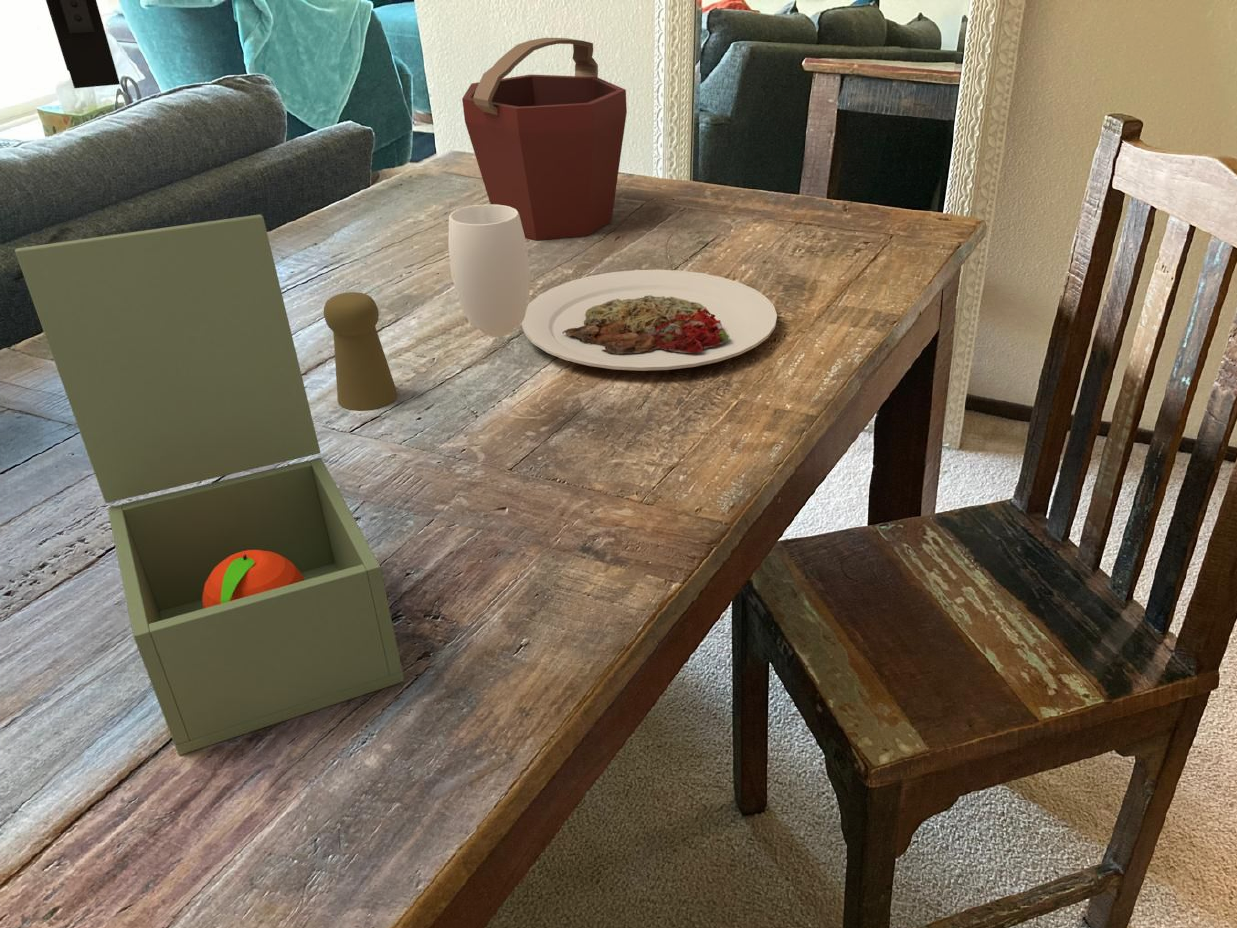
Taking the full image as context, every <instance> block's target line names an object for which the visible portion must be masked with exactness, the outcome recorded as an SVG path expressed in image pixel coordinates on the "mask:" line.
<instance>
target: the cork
mask: <svg viewBox="0 0 1237 928" xmlns="http://www.w3.org/2000/svg"><path fill="white" fill-rule="evenodd" d="M379 315H380V312H379V308H378V305H377V303H376V301H375V300H374V299H373V297H371V296H370V295H369V294H366V293H364V292H358V291H351V292H343V293H339V294H335V295H333V296H331V297H330V298H329V299H327V300H326V302H325V304H324V307H323V318H324V320H325V323H326V325H327V327H328V329H330V330H331V331H332V334H333V349H334V364H335V365H334V366H335V378H336V379H335V380H336V395H337V402H338V405H339V406H341V407H342V408H344V409H347V410H350V411H351V410H352V411H370V410H374V409H375V410H377V409H380V408H382V407H383V408H384V407H386V406H387V405H390V404H392V403H393V402H394V401H395V400H396V399H397V398H398V394H399V393H398V390H397V388H396V385H395V381H394V378H393V375H392V373H391V370H390V366H389V363H388V361H387V357H386V355H385V351H384V348H383V345H382V342H381V339H380V336H379V333H378V330H377V328H376V326H377V324H378V322H379Z"/></svg>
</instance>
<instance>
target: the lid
mask: <svg viewBox="0 0 1237 928" xmlns="http://www.w3.org/2000/svg"><path fill="white" fill-rule="evenodd" d="M268 235H269V234H268V231H267V226H266V222H265V219H264V216H263V215H262V214H253V215H246V216H238V217H232V218H225V219H217V220H209V221H204V222H195V223H190V224H189V223H188V224H183V225H174V226H168V227H161V228H159V227H158V228H152V229H146V230H138V231H131V232H125V233H117V234H110V235H109V234H108V235H103V236H94V237H89V238H81V239H74V240H68V241H67V240H66V241H61V242H52V243H47V244H39V245H32V246H31V245H30V246H25V247H19V248H18V247H17V248H15V249H14V252H15V255H16V259H17V261H18V264H19V267H20V270H21V273H22V275H23V278H24V280H25V283H26V286H27V290H28V291H29V294H30V297H31V300H32V302H33V306H34V309H35V311H36V314H37V317H38V320H39V322H40V325H41V328H42V330H43V333H44V336H45V339H46V342H47V345H48V347H49V350H50V353H51V356H52V359H53V362H54V364H55V367H56V370H57V373H58V375H59V378H60V381H61V384H62V387H63V389H64V392H65V394H66V397H67V400H68V403H69V406H70V409H71V412H72V415H73V417H74V420H75V423H76V425H77V429H78V431H79V434H80V436H81V439H82V443H83V445H84V448H85V451H86V454H87V457H88V459H89V462H90V464H91V467H92V469H93V473H94V477H95V478H96V482H97V484H98V486H99V489H100V492H101V496H102V498H103V501H104V502H105V504H109V503H114V502H117V501H121V500H126V499H130V498H135V497H139V496H144V495H147V494H152V493H157V492H161V491H165V490H169V489H173V488H178V487H182V486H186V485H190V484H195V483H199V482H203V481H208V480H211V479H216V478H221V477H225V476H229V475H234V474H238V473H243V472H247V471H251V470H255V469H259V468H263V467H269V466H272V465H275V464H276V465H277V464H280V463H281V464H282V463H285V462H289V461H293V460H298V459H302V458H307V457H311V456H315V455H319V454H321V449H320V445H319V441H318V437H317V432H316V428H315V424H314V421H313V417H312V411H311V407H310V404H309V400H308V396H307V391H306V387H305V383H304V379H303V375H302V371H301V367H300V362H299V359H298V355H297V351H296V347H295V342H294V338H293V334H292V330H291V325H290V322H289V317H288V314H287V309H286V305H285V301H284V297H283V293H282V289H281V284H280V281H279V277H278V271H277V267H276V264H275V260H274V255H273V252H272V247H271V244H270V239H269V236H268Z"/></svg>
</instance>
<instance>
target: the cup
mask: <svg viewBox="0 0 1237 928" xmlns="http://www.w3.org/2000/svg"><path fill="white" fill-rule="evenodd" d="M526 239H527V238H525V235H524V231H523V228H522V224H521V220H520V216H519V213H518V212H517V210H516V209H514V208H512V207H509V206H503V205H492V204H490V203H487V204H486V203H485V204H474V205H469V206H463V207H460V208H457V209H455V210H454V211H452V212H451V213H450V214H449V216H448V244H447V245H448V246H447V247H448V256H449V257H448V258H449V265H450V276H451V279H452V283H453V286H454V289H455V293H456V296H457V300H458V302H459V305H460V307H461V309H462V311H463V313H464V315H465V317H466V319H467V322H468V324H469V325H470V326H471V327H473V328H475V329H478V330H479V331H480V332H481V333H483V334H484V335H485V336H488V337H492V338H500V337H505V336H508V335H510V334H511V333H513V331H514V330H515V328H516V327H517V326H519V325H521V323H522V322H523V320H524V318H525V314H526V309H527V306H528V304H529V301H530V287H531V265H530V258H529V251H528V244H527V240H526Z"/></svg>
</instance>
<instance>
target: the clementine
mask: <svg viewBox="0 0 1237 928" xmlns="http://www.w3.org/2000/svg"><path fill="white" fill-rule="evenodd" d="M301 581H305V580H304V578H303V576H302V574H301V573H300V571H299V570H298V569H297V567H296V566H295V565H294V564H293V563H292V562H290V561H289V560H288V559H286V558H284V557H282V556H281V555H279V554H277V553H274V552H271V551H263V550H247V551H242V552H238V553H236V554H233V555H231V556H229V557H228V558H226V559H225V560H223V561H222V562H221V563H219V564H218V565H217V566H216V567H215V568H214V569H213V571H212V572H211V574H210V576H209V577H208V579H207V581H206V583H205V586H204V591H203V599H202V601H203V608H208V607H211V606H215V605H219V604H222V603H226V602H229V601H233V600H236V599H240V598H244V597H247V596H251V595H254V594H258V593H262V592H265V591H269V590H272V589H276V588H279V587H283V586H287V585H290V584H294V583H297V582H301Z"/></svg>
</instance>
